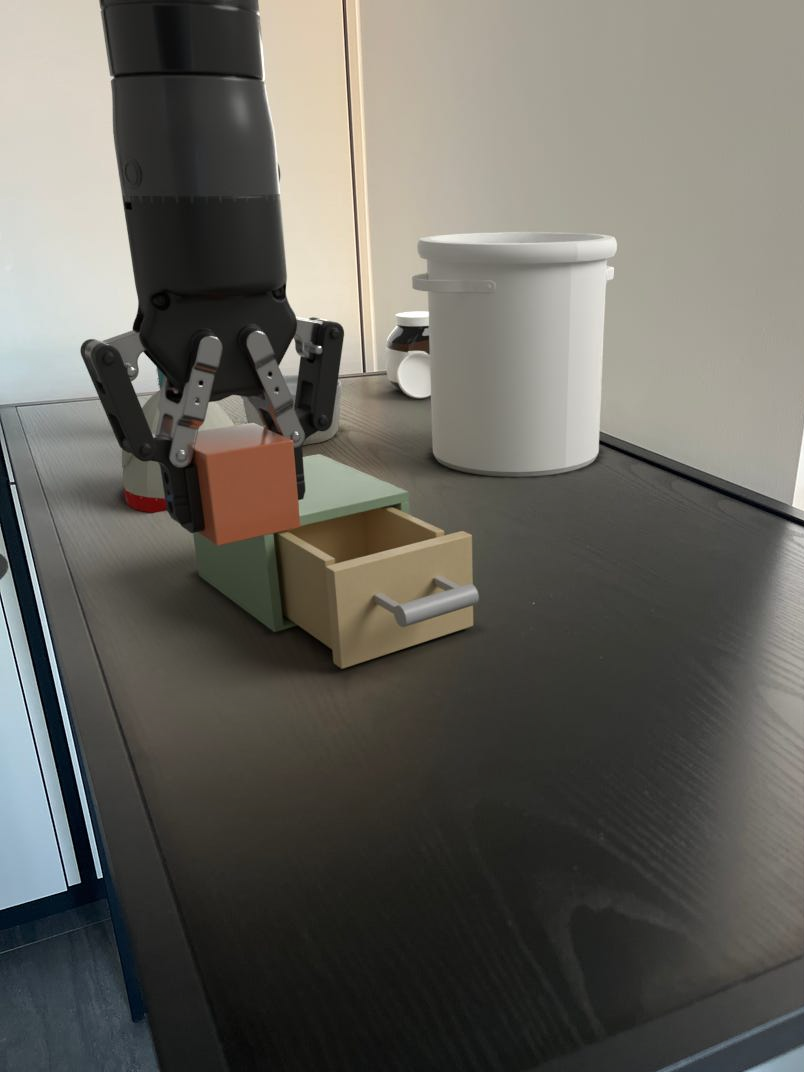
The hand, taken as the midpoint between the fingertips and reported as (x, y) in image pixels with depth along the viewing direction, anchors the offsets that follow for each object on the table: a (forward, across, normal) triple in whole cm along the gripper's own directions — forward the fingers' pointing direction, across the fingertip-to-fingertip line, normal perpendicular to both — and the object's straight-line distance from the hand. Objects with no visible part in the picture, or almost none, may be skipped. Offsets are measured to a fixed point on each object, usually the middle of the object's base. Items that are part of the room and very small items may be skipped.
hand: (239, 517), depth 55 cm
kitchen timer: (+15, -16, -52) cm, 56 cm away
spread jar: (+15, -66, -81) cm, 105 cm away
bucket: (+15, -53, -41) cm, 69 cm away
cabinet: (+14, -13, -20) cm, 28 cm away
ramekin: (+15, -37, -68) cm, 79 cm away
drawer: (+13, -13, -8) cm, 20 cm away
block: (0, 0, 0) cm, 0 cm away
